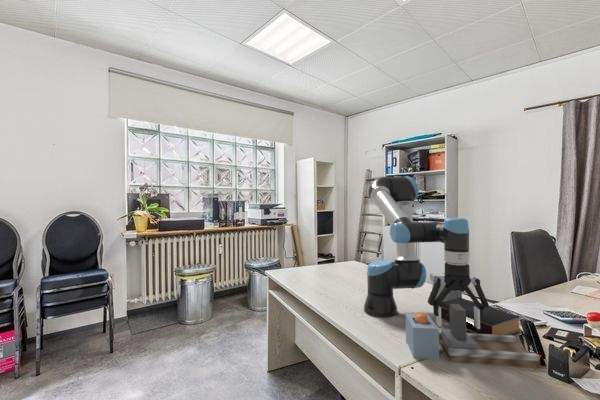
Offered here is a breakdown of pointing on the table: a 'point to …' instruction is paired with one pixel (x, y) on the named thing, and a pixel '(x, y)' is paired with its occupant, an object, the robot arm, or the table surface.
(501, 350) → the rail board
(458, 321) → the carriage
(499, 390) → the table surface
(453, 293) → the circuit breaker
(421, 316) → the button
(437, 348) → the end cabinet
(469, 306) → the book
